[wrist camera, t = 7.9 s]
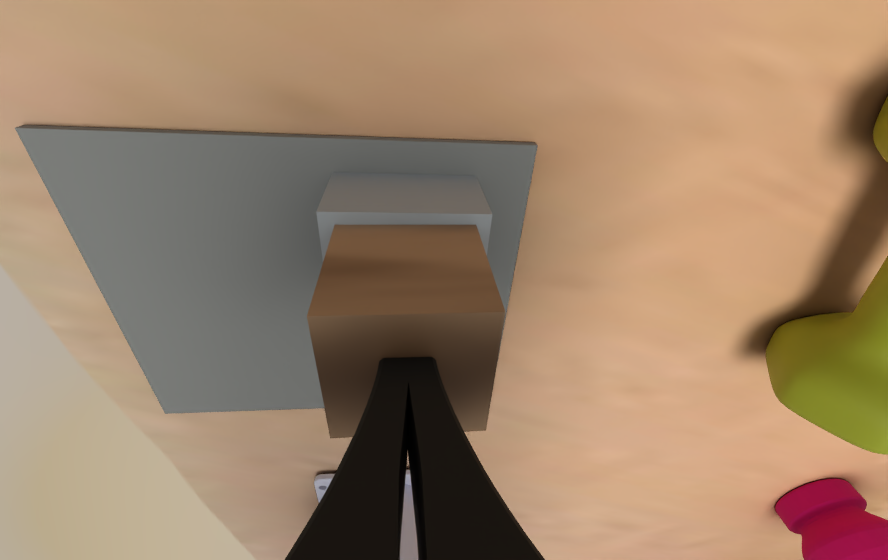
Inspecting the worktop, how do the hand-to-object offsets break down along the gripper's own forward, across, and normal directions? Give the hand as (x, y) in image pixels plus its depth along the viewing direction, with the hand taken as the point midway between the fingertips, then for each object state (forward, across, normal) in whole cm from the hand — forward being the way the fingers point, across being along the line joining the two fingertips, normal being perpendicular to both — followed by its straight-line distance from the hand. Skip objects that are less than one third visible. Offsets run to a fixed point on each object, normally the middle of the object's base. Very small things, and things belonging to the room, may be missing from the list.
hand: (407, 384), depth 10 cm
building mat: (+8, +4, +4) cm, 10 cm away
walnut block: (+4, 0, 0) cm, 5 cm away
